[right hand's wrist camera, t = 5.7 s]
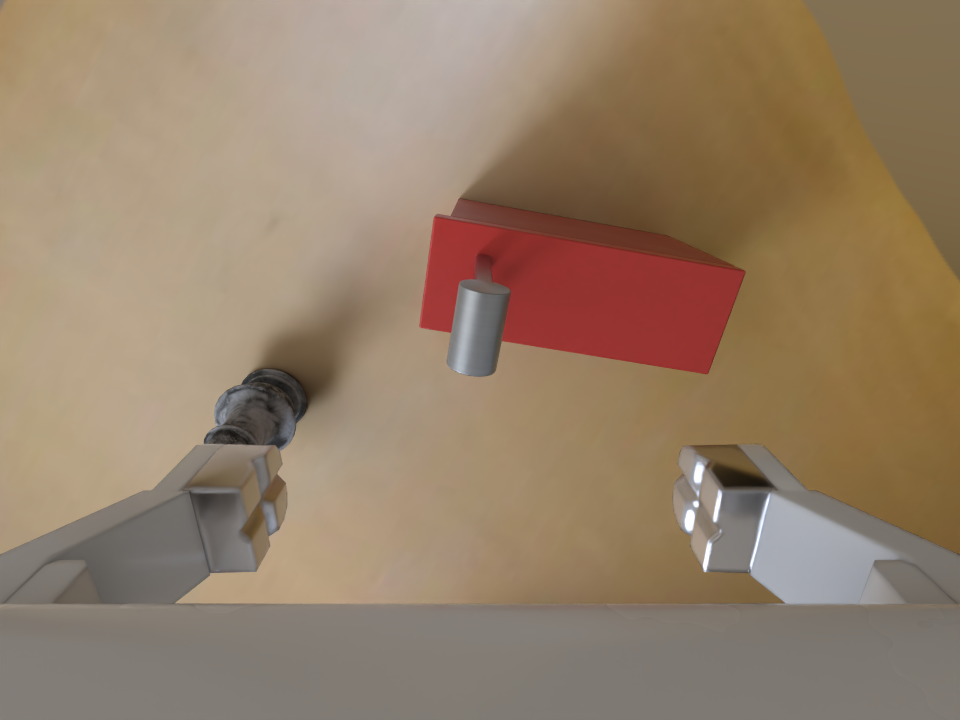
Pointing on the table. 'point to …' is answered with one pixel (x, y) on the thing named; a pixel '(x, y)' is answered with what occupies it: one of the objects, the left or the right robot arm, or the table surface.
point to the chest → (578, 229)
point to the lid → (570, 298)
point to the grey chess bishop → (259, 411)
